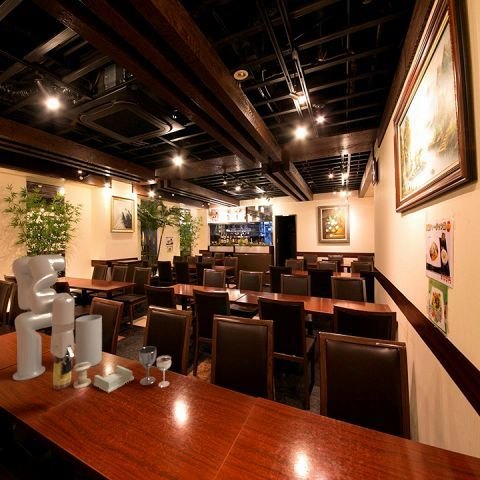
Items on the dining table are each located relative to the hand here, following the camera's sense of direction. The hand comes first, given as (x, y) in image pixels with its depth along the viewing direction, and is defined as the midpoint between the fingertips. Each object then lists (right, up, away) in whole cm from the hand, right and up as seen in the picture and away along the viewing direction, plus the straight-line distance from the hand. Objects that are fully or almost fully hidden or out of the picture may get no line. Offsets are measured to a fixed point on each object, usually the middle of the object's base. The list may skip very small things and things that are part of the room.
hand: (62, 369), depth 104 cm
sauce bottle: (0, -7, 0) cm, 7 cm away
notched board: (+13, -14, +16) cm, 26 cm away
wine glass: (+29, -15, +17) cm, 37 cm away
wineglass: (+38, -15, +14) cm, 43 cm away
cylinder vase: (-10, -15, +35) cm, 40 cm away
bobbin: (-1, -15, +14) cm, 20 cm away
